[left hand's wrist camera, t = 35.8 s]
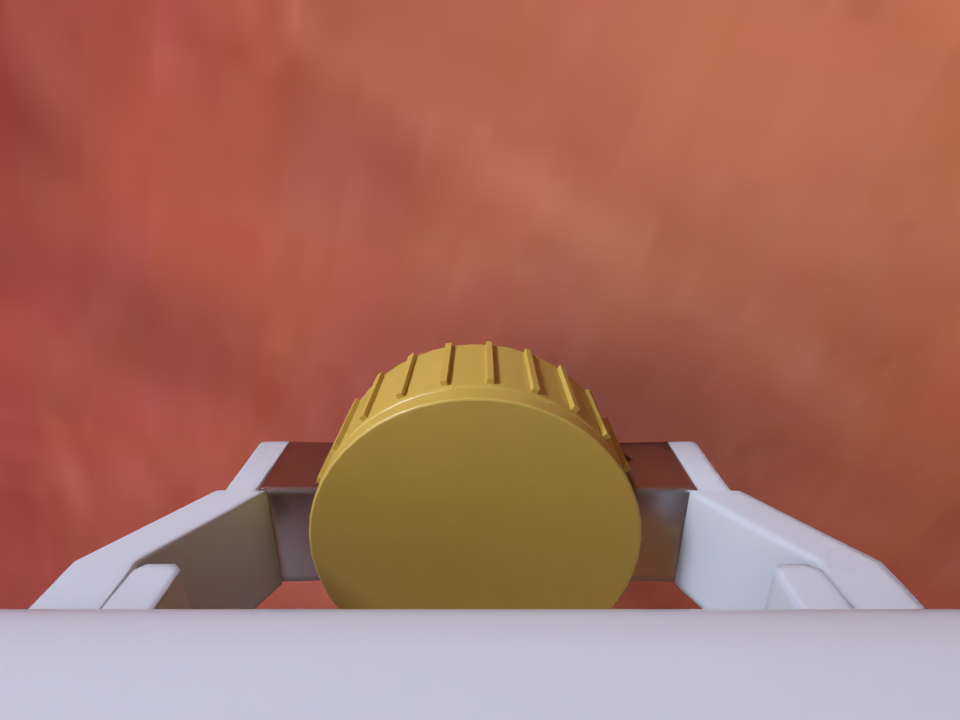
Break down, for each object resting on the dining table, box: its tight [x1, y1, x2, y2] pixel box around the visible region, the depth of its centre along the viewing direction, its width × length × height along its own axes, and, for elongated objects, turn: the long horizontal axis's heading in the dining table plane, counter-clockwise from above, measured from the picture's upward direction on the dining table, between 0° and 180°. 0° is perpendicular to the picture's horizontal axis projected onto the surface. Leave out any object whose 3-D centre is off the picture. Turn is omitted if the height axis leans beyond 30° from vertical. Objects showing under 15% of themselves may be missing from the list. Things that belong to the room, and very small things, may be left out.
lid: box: [309, 341, 641, 609], centre depth 9 cm, size 5×5×2 cm
